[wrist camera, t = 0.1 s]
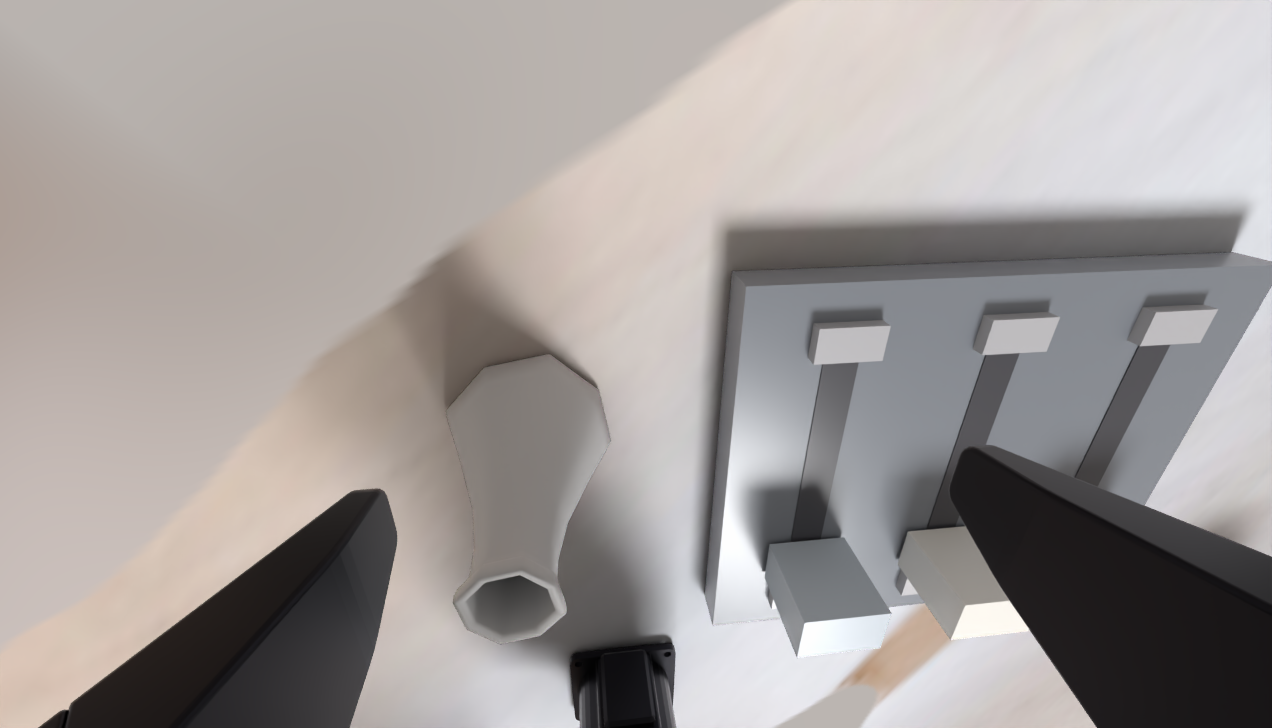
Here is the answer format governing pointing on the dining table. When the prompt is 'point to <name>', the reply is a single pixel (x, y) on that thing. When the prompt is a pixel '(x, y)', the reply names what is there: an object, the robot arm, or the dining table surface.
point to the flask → (523, 488)
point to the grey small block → (825, 597)
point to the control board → (950, 394)
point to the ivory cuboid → (957, 584)
